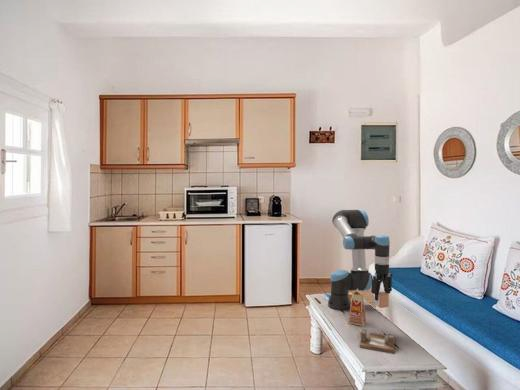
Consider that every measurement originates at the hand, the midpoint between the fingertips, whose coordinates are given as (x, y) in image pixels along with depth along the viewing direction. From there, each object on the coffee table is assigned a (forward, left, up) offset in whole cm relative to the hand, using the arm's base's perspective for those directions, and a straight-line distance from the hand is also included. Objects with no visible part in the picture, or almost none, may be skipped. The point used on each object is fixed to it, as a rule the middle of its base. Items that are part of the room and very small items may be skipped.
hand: (381, 305), depth 186 cm
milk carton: (-8, -14, -15) cm, 22 cm away
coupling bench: (+16, -1, -15) cm, 22 cm away
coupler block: (0, 0, 0) cm, 0 cm away
